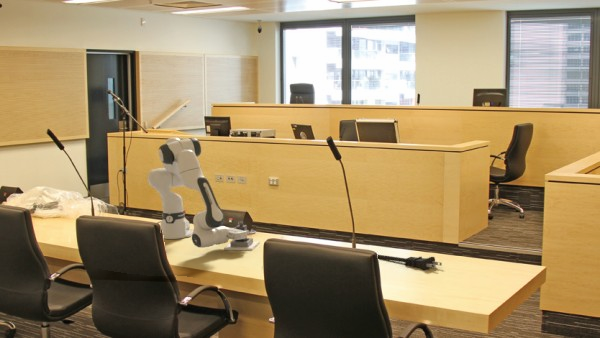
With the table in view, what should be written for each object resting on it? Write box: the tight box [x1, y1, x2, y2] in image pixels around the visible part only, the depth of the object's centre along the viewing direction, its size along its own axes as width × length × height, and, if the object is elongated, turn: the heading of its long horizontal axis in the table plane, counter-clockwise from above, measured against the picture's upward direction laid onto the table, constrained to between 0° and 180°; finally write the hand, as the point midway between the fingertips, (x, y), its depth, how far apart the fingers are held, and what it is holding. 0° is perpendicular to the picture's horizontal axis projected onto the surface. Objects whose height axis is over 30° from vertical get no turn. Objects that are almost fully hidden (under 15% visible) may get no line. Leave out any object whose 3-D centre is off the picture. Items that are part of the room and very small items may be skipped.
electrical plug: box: [377, 254, 443, 271], centre depth 342 cm, size 9×42×5 cm, turn 45°
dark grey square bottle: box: [235, 221, 248, 242], centre depth 383 cm, size 4×4×12 cm
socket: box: [223, 237, 261, 251], centre depth 383 cm, size 15×15×4 cm
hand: (242, 230), depth 383 cm, fingers open, 8 cm apart
